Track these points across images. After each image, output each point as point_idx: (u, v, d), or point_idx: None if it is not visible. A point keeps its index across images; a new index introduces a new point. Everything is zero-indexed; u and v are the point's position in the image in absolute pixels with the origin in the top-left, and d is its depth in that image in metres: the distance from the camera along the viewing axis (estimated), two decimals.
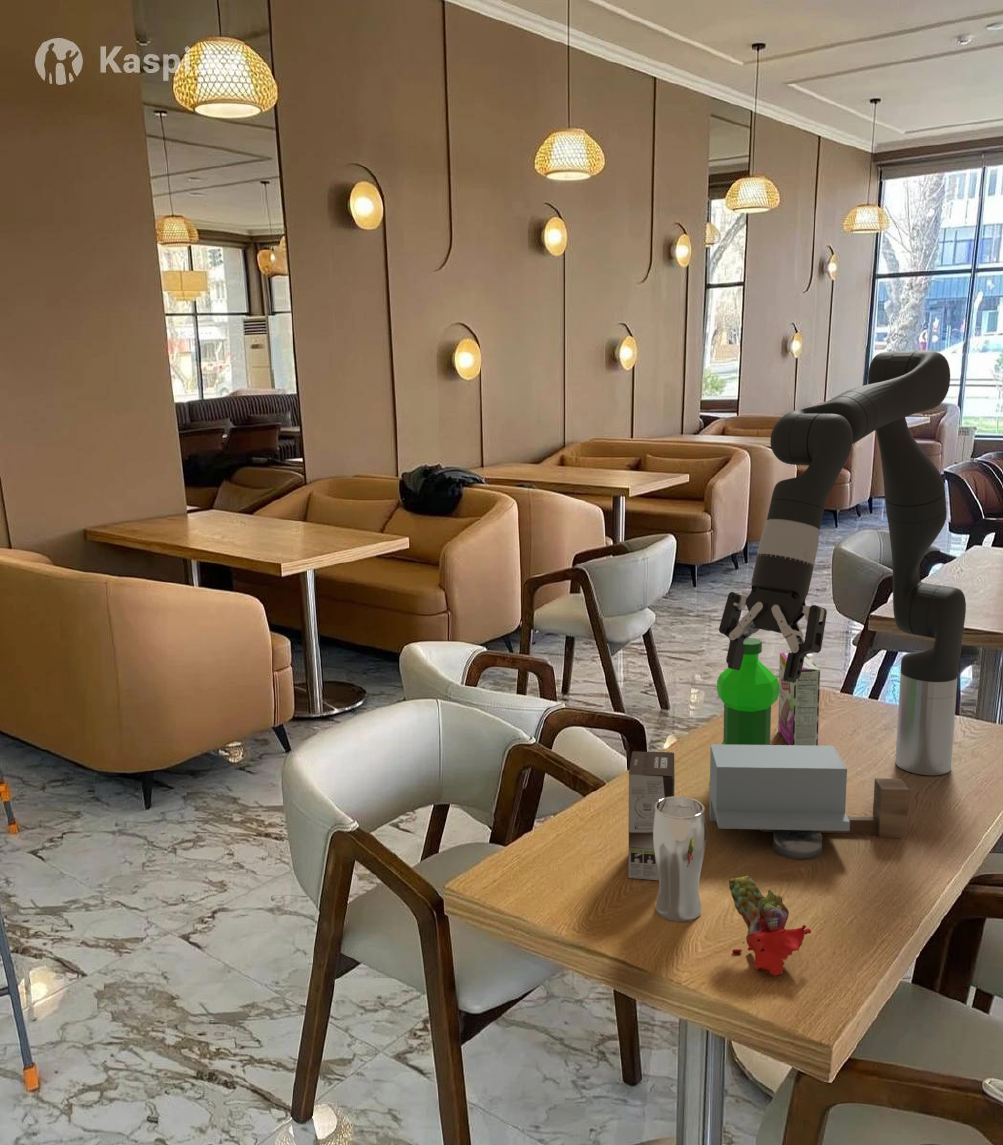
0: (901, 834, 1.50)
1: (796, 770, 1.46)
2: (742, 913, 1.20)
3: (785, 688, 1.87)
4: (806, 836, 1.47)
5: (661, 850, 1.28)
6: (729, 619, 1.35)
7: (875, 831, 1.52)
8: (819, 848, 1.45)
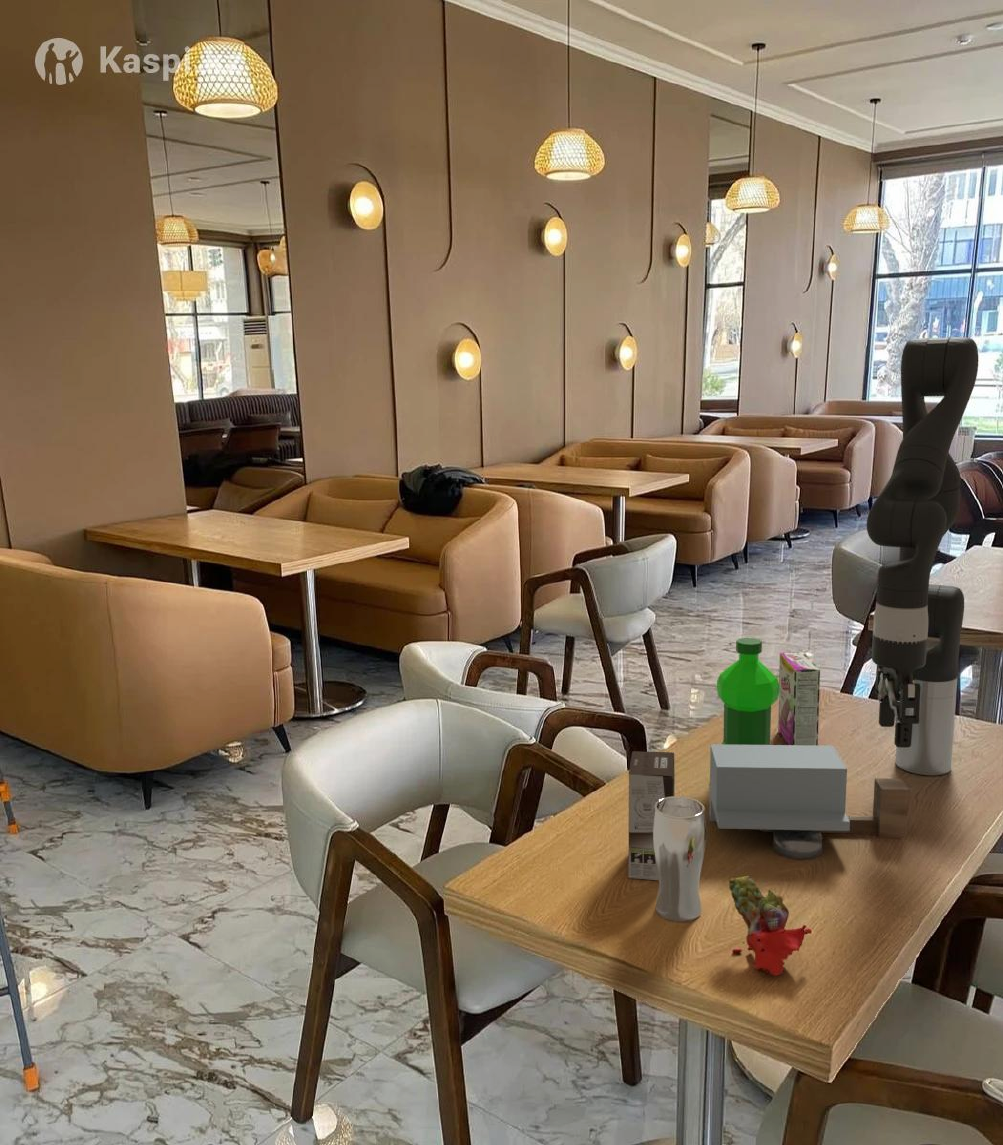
0: (901, 834, 1.50)
1: (796, 770, 1.46)
2: (742, 913, 1.20)
3: (785, 688, 1.87)
4: (806, 836, 1.47)
5: (661, 850, 1.28)
6: (878, 682, 1.53)
7: (875, 831, 1.52)
8: (819, 848, 1.45)
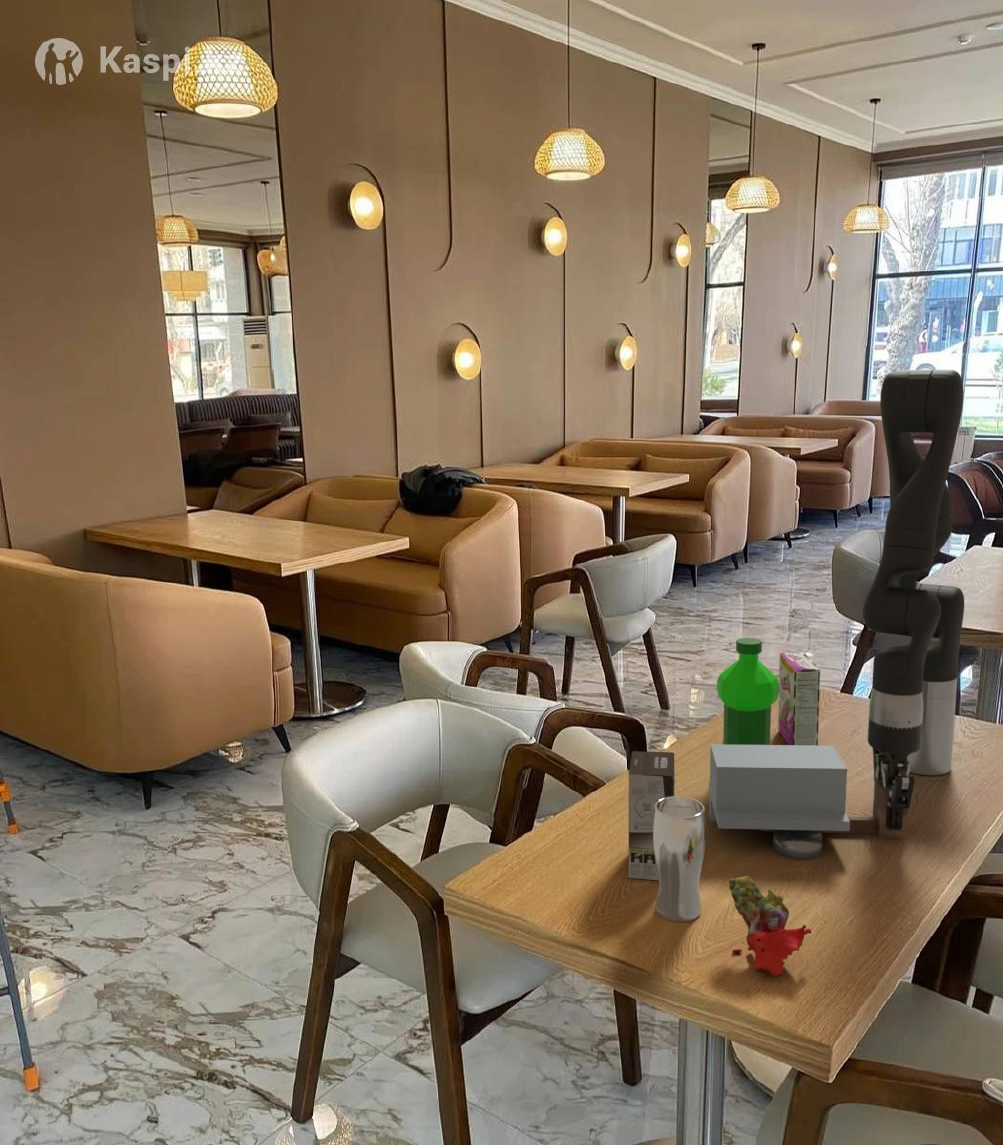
0: (901, 834, 1.50)
1: (796, 770, 1.46)
2: (742, 913, 1.20)
3: (785, 688, 1.87)
4: (806, 836, 1.47)
5: (661, 850, 1.28)
6: None
7: (875, 831, 1.52)
8: (819, 848, 1.45)
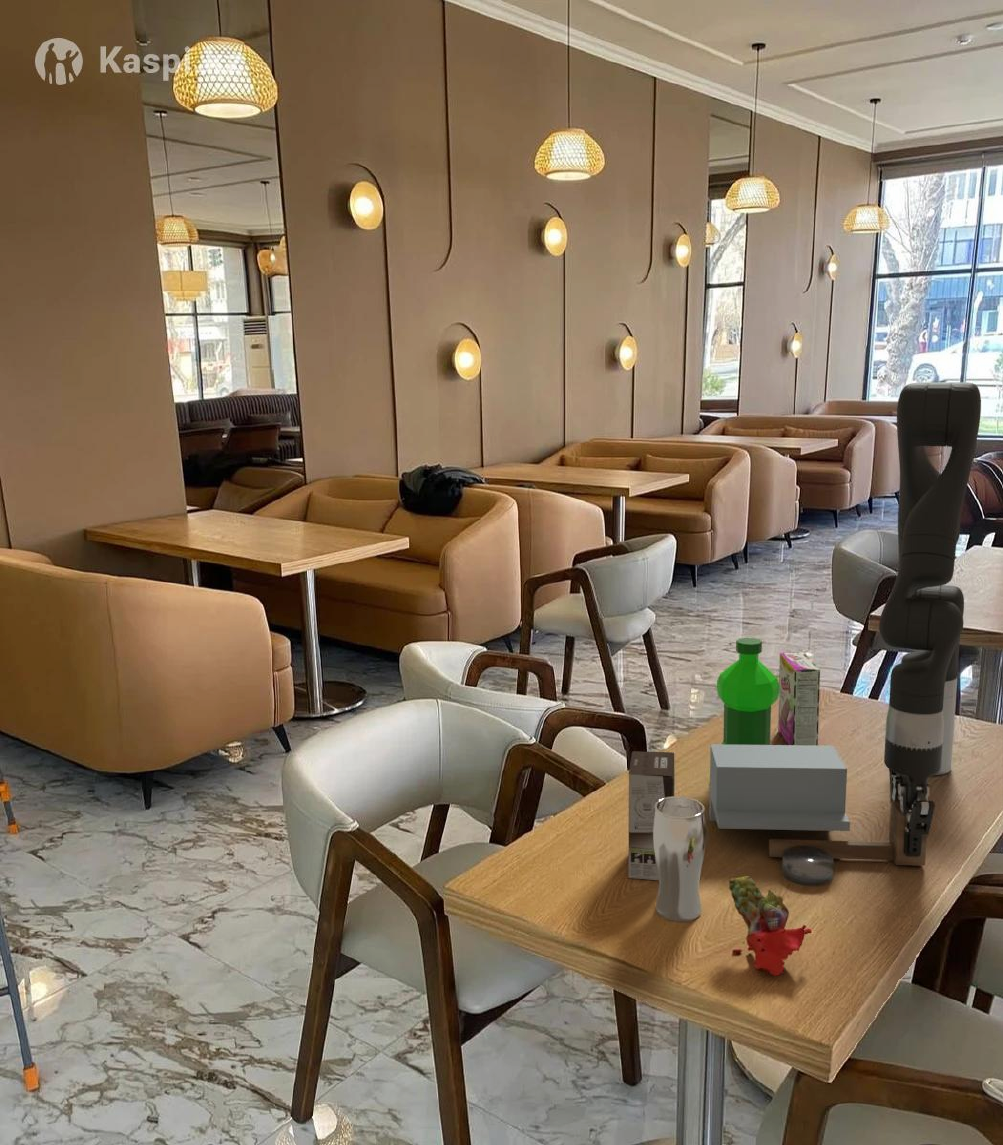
0: (919, 861, 1.41)
1: (796, 770, 1.46)
2: (742, 913, 1.20)
3: (785, 688, 1.87)
4: (816, 859, 1.40)
5: (661, 850, 1.28)
6: (893, 791, 1.46)
7: (892, 857, 1.42)
8: (830, 872, 1.38)
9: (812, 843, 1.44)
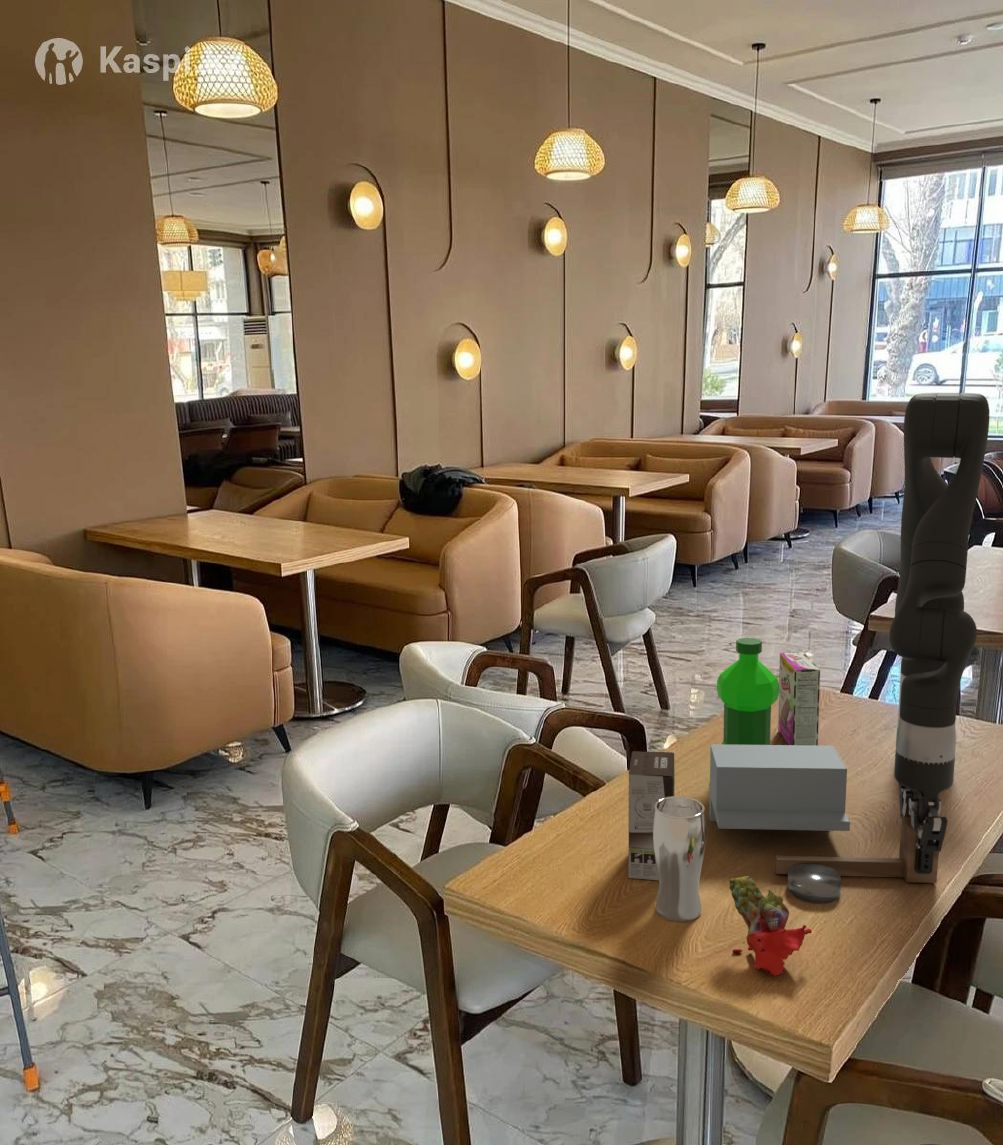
0: (931, 879, 1.36)
1: (796, 770, 1.46)
2: (742, 913, 1.20)
3: (785, 688, 1.87)
4: (823, 877, 1.35)
5: (661, 850, 1.28)
6: (903, 805, 1.41)
7: (902, 874, 1.38)
8: (837, 891, 1.33)
9: (820, 860, 1.39)
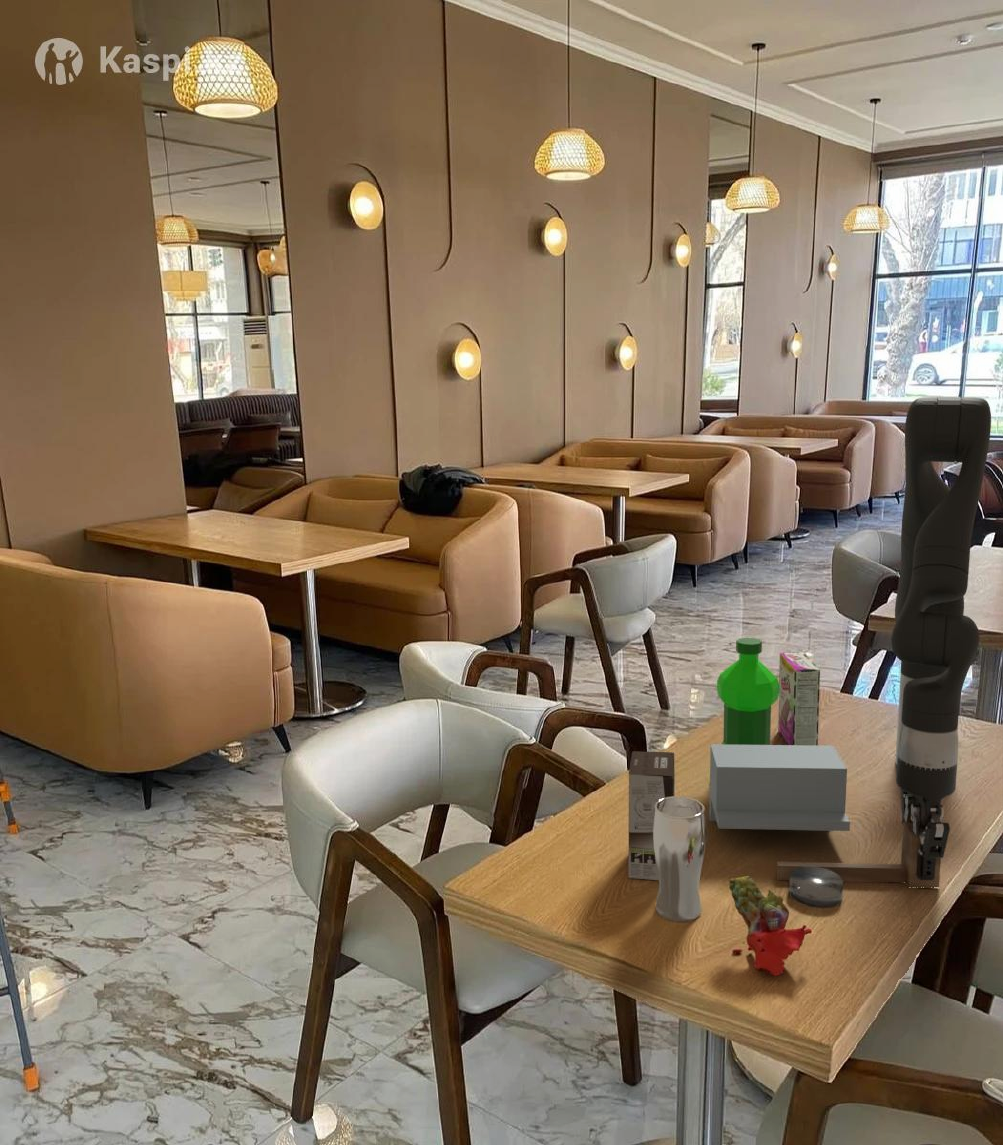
0: (933, 885, 1.35)
1: (796, 770, 1.46)
2: (742, 913, 1.20)
3: (785, 688, 1.87)
4: (825, 881, 1.34)
5: (661, 850, 1.28)
6: (904, 811, 1.40)
7: (904, 880, 1.37)
8: (839, 895, 1.32)
9: (821, 866, 1.38)
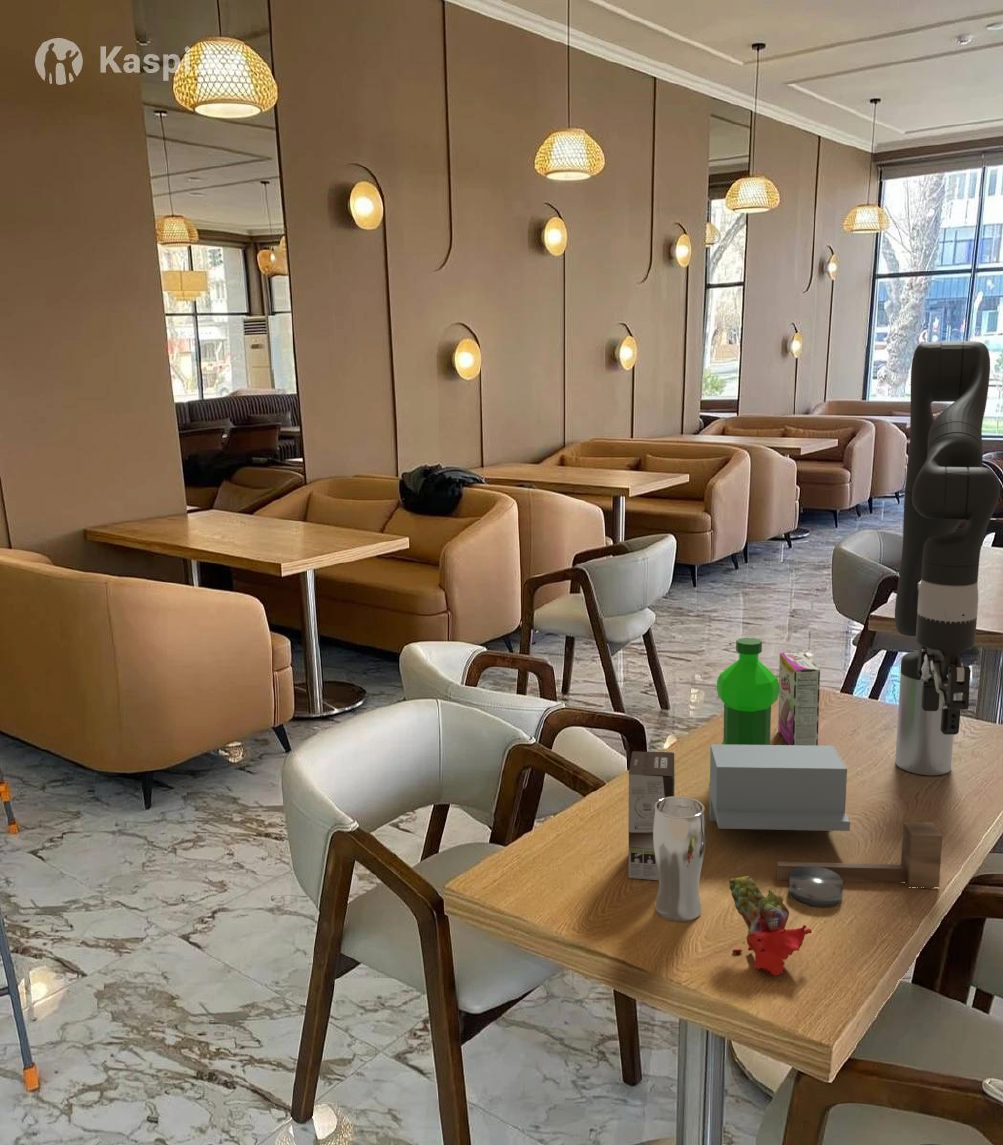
0: (933, 885, 1.35)
1: (796, 770, 1.46)
2: (742, 913, 1.20)
3: (785, 688, 1.87)
4: (825, 881, 1.34)
5: (661, 850, 1.28)
6: (921, 663, 1.43)
7: (904, 881, 1.37)
8: (839, 895, 1.32)
9: (821, 866, 1.38)
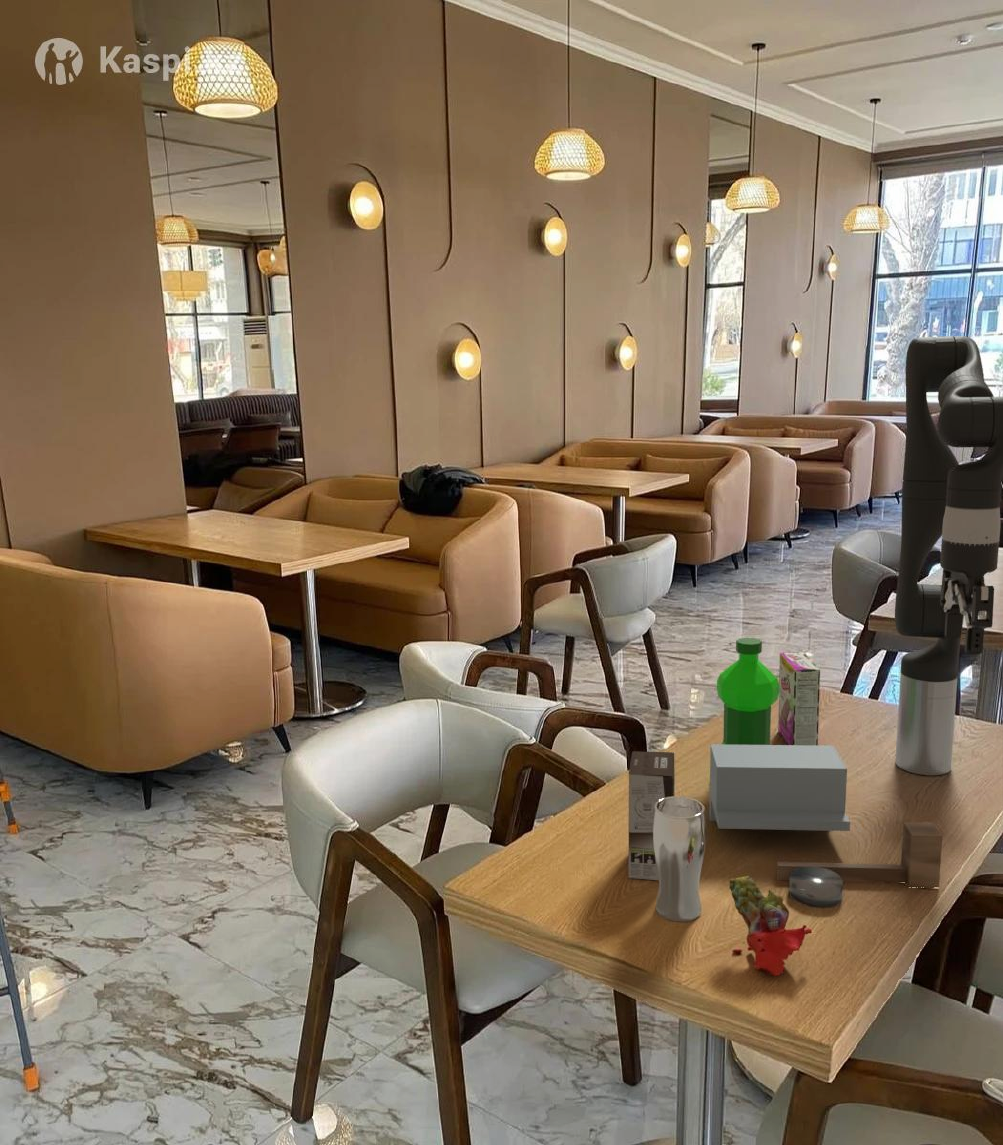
0: (933, 885, 1.35)
1: (796, 770, 1.46)
2: (742, 913, 1.20)
3: (785, 688, 1.87)
4: (825, 881, 1.34)
5: (661, 850, 1.28)
6: (944, 593, 1.49)
7: (904, 881, 1.37)
8: (839, 895, 1.32)
9: (821, 866, 1.38)
